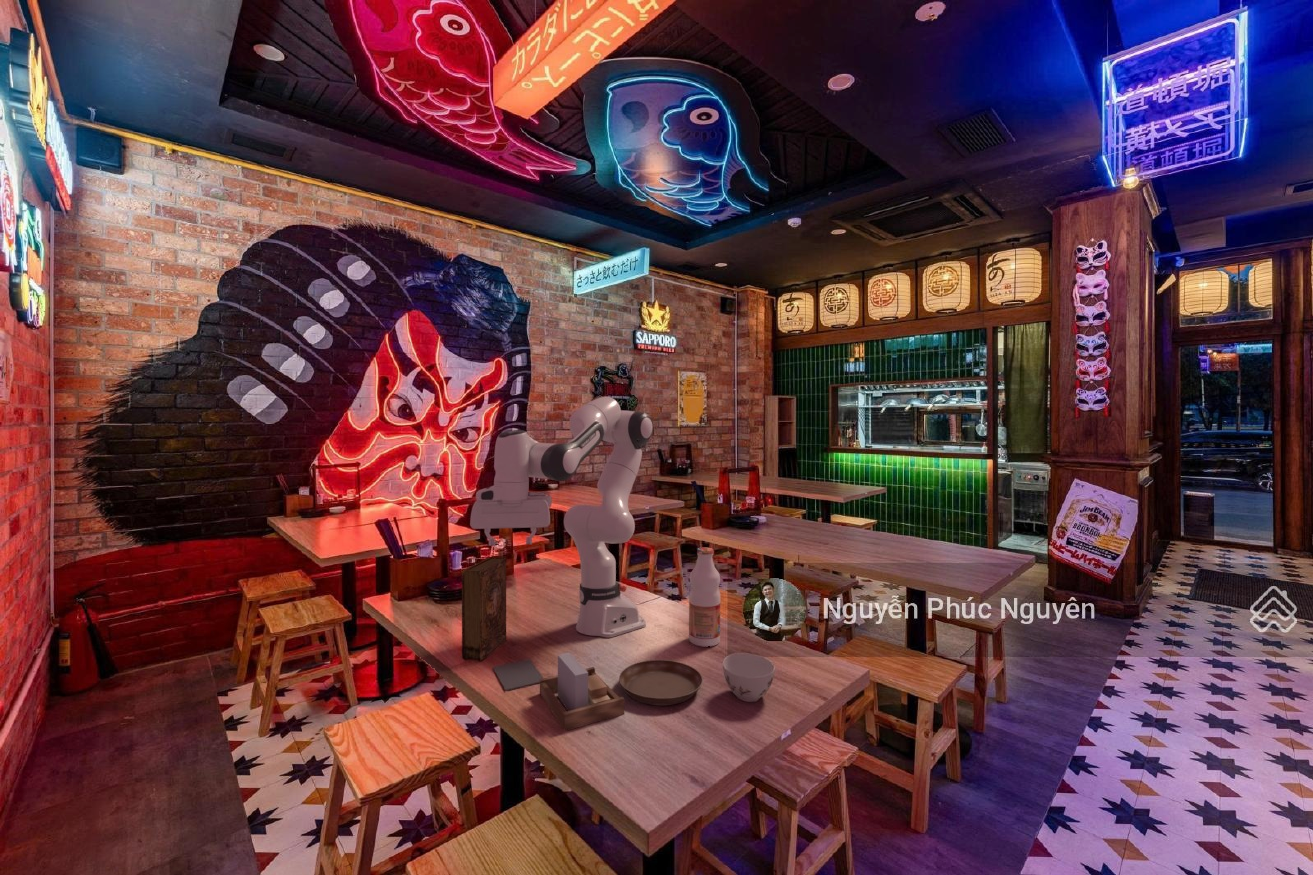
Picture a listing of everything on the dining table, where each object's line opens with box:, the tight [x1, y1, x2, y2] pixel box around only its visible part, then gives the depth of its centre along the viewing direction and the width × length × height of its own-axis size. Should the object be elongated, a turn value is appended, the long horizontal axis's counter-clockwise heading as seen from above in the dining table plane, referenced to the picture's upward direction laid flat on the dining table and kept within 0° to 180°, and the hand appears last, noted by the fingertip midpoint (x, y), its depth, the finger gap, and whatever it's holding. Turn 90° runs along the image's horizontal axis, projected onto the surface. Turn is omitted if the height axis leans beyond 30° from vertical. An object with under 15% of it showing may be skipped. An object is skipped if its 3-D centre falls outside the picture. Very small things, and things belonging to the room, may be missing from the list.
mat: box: [492, 658, 545, 692], centre depth 141 cm, size 10×14×1 cm
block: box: [557, 652, 589, 711], centre depth 125 cm, size 3×12×10 cm, turn 29°
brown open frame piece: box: [539, 666, 625, 732], centre depth 127 cm, size 14×18×4 cm
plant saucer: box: [618, 659, 704, 706], centre depth 134 cm, size 21×21×3 cm
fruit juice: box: [688, 546, 722, 648], centre depth 163 cm, size 9×9×28 cm
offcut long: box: [588, 695, 611, 706], centre depth 128 cm, size 4×10×2 cm, turn 28°
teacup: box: [722, 652, 776, 703], centre depth 131 cm, size 15×12×8 cm
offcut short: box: [588, 673, 607, 699], centre depth 129 cm, size 4×7×2 cm, turn 26°
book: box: [461, 556, 507, 662], centre depth 156 cm, size 16×6×25 cm, turn 168°
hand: (510, 544), depth 142 cm, fingers open, 8 cm apart
